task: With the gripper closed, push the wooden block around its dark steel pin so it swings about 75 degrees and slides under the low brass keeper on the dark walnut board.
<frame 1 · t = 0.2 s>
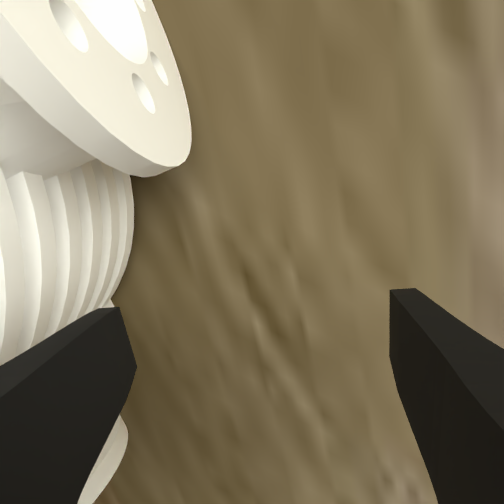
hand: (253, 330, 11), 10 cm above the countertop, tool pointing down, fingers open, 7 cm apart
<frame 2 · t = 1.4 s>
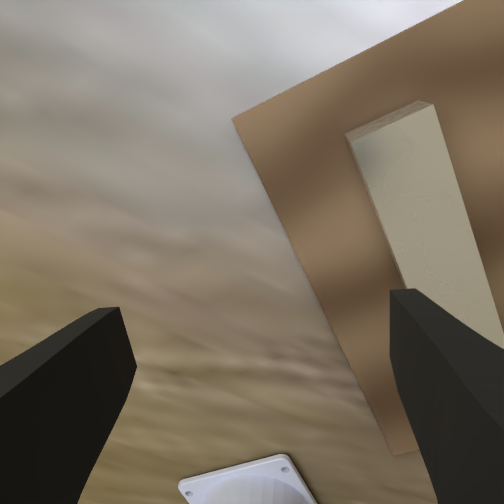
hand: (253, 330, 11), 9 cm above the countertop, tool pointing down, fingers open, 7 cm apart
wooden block: (447, 289, 17), point 3 cm above the countertop, hinge at 0.0°
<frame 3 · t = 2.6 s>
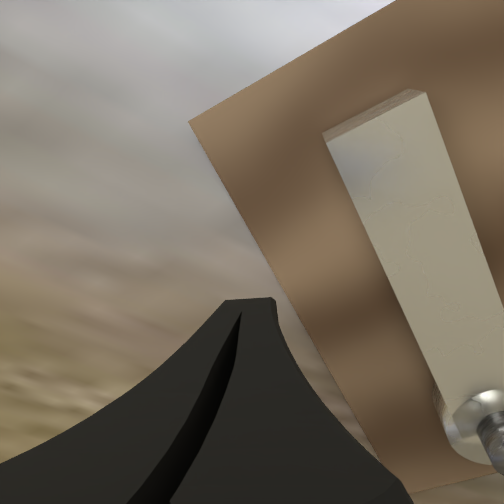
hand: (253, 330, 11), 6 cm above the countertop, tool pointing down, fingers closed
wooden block: (453, 314, 15), point 3 cm above the countertop, hinge at 0.0°
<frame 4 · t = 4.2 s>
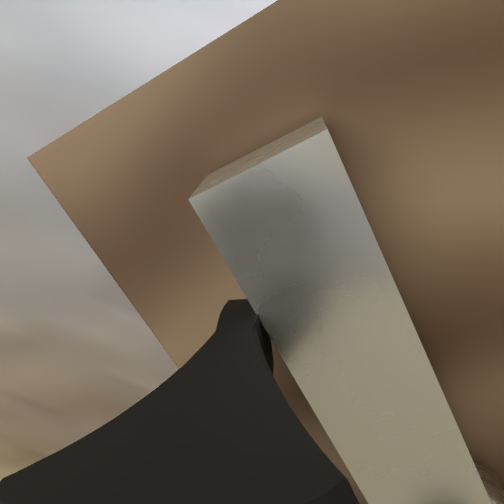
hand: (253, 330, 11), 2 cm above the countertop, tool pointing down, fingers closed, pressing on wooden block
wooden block: (390, 425, 11), point 3 cm above the countertop, hinge at 0.5°, touching gripper
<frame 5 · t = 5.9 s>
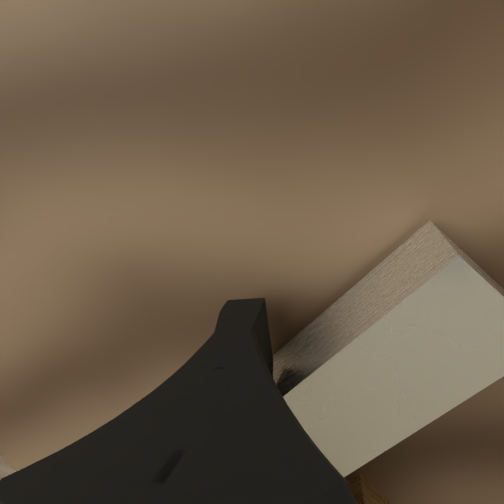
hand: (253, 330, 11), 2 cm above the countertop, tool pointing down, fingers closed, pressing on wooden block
brass keeper: (178, 471, 16), resting on walnut board
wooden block: (266, 463, 11), point 3 cm above the countertop, hinge at 68.3°, touching gripper
walnut board: (226, 329, 13), on the countertop
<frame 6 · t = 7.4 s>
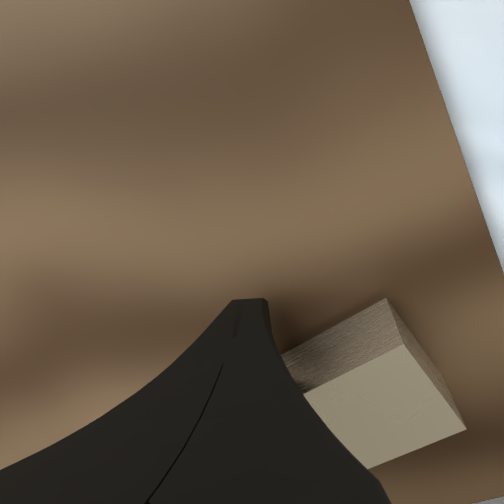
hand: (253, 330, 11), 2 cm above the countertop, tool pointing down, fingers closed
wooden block: (197, 486, 12), point 3 cm above the countertop, hinge at 80.7°, touching gripper
walnut board: (138, 335, 13), on the countertop
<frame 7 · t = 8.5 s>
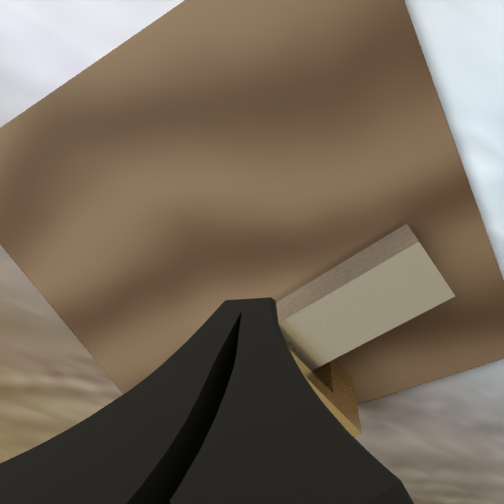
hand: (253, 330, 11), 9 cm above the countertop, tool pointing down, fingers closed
brass keeper: (208, 363, 23), resting on walnut board
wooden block: (286, 348, 19), point 3 cm above the countertop, hinge at 80.9°
walnut board: (242, 257, 20), on the countertop
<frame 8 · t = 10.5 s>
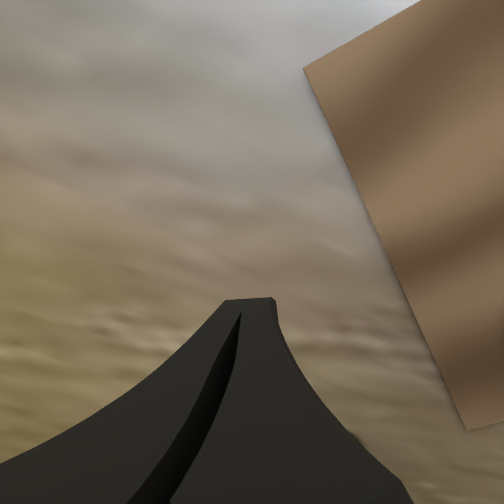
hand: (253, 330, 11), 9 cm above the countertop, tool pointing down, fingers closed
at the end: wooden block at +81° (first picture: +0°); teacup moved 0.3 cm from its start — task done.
